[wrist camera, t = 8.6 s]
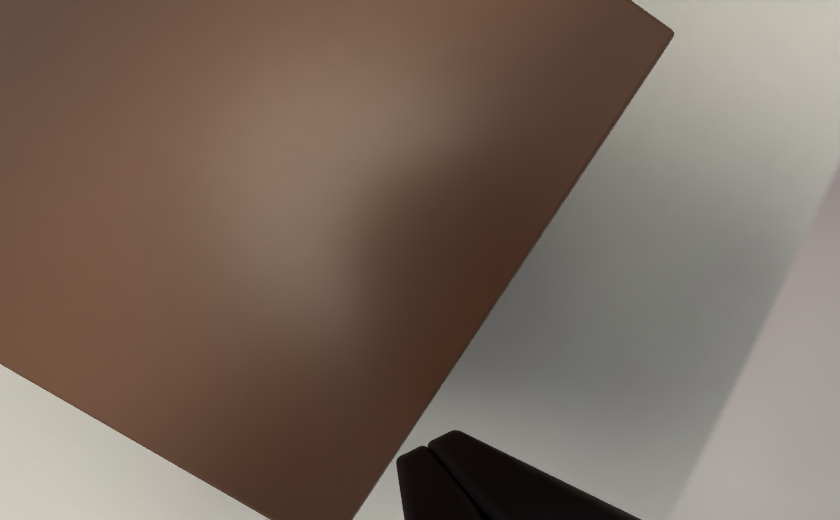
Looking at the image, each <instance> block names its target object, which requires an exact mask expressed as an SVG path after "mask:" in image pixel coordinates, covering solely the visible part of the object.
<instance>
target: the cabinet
mask: <svg viewBox="0 0 840 520" xmlns="http://www.w3.org/2000/svg"><path fill="white" fill-rule="evenodd" d="M673 36H674V32H673V31H672V29H670V28H669V27H667V26H666V25H665V24H663V23H662V22H660V21H659V20H658V19H656V18H655V17H653V16H652V15H651V14H649V13H648V12H647V11H645V10H644V9H642V8H641V7H640V6H638V5H637V4H635V3H634V2H633V1H631V0H0V364H1V365H3V366H5V367H7V368H8V369H10V370H12V371H14V372H15V373H17V374H19V375H21V376H22V377H24V378H26V379H28V380H29V381H31V382H33V383H34V384H36V385H38V386H40V387H41V388H43V389H45V390H47V391H48V392H50V393H52V394H54V395H55V396H57V397H59V398H60V399H62V400H64V401H66V402H67V403H69V404H71V405H73V406H74V407H76V408H78V409H80V410H81V411H83V412H85V413H87V414H88V415H90V416H92V417H93V418H95V419H97V420H99V421H100V422H102V423H104V424H106V425H107V426H109V427H111V428H113V429H114V430H116V431H118V432H119V433H121V434H123V435H125V436H126V437H128V438H130V439H132V440H133V441H135V442H137V443H139V444H140V445H142V446H144V447H146V448H147V449H149V450H151V451H152V452H154V453H156V454H158V455H159V456H161V457H163V458H165V459H166V460H168V461H170V462H172V463H173V464H175V465H177V466H178V467H180V468H182V469H184V470H185V471H187V472H189V473H191V474H192V475H194V476H196V477H198V478H199V479H201V480H203V481H205V482H206V483H208V484H210V485H211V486H213V487H215V488H217V489H218V490H220V491H222V492H224V493H225V494H227V495H229V496H231V497H232V498H234V499H236V500H238V501H239V502H241V503H243V504H244V505H246V506H248V507H250V508H251V509H253V510H255V511H257V512H258V513H260V514H262V515H264V516H265V517H267V518H269V519H270V520H353V518H354V517H355V515H356V514H357V512H358V511H359V509H360V508H361V506H362V505H363V503H364V502H365V500H366V499H367V497H368V496H369V494H370V493H371V491H372V490H373V488H374V487H375V485H376V484H377V482H378V481H379V479H380V477H381V476H382V474H383V473H384V471H385V470H386V468H387V467H388V465H389V464H390V462H391V461H392V459H393V458H394V456H395V455H396V453H397V452H398V450H399V449H400V447H401V446H402V444H403V443H404V441H405V440H406V438H407V437H408V435H409V434H410V432H411V431H412V429H413V428H414V426H415V425H416V423H417V422H418V420H419V419H420V417H421V416H422V414H423V413H424V411H425V410H426V408H427V407H428V405H429V404H430V402H431V401H432V399H433V398H434V396H435V395H436V393H437V392H438V390H439V389H440V387H441V386H442V384H443V383H444V381H445V380H446V378H447V377H448V375H449V374H450V372H451V371H452V369H453V368H454V366H455V365H456V363H457V362H458V360H459V359H460V357H461V356H462V354H463V353H464V351H465V350H466V348H467V347H468V345H469V344H470V342H471V341H472V339H473V338H474V336H475V335H476V333H477V332H478V330H479V329H480V327H481V326H482V324H483V323H484V321H485V320H486V318H487V317H488V315H489V314H490V312H491V311H492V309H493V308H494V306H495V305H496V303H497V302H498V300H499V299H500V297H501V296H502V294H503V293H504V291H505V290H506V288H507V287H508V285H509V284H510V282H511V281H512V279H513V278H514V276H515V275H516V273H517V271H518V270H519V268H520V267H521V265H522V264H523V262H524V261H525V259H526V258H527V256H528V255H529V253H530V252H531V250H532V249H533V247H534V246H535V244H536V243H537V241H538V240H539V238H540V237H541V235H542V234H543V232H544V231H545V229H546V228H547V226H548V225H549V223H550V222H551V220H552V219H553V217H554V216H555V214H556V213H557V211H558V210H559V208H560V207H561V205H562V204H563V202H564V201H565V199H566V198H567V196H568V195H569V193H570V192H571V190H572V189H573V187H574V186H575V184H576V183H577V181H578V180H579V178H580V177H581V175H582V174H583V172H584V171H585V169H586V168H587V166H588V165H589V163H590V162H591V160H592V159H593V157H594V156H595V154H596V153H597V151H598V150H599V148H600V147H601V145H602V144H603V142H604V141H605V139H606V138H607V136H608V135H609V133H610V132H611V130H612V129H613V127H614V126H615V124H616V123H617V121H618V120H619V118H620V117H621V115H622V114H623V112H624V111H625V109H626V108H627V106H628V105H629V103H630V102H631V100H632V99H633V97H634V96H635V94H636V93H637V91H638V90H639V88H640V87H641V85H642V84H643V82H644V81H645V79H646V78H647V76H648V75H649V73H650V72H651V70H652V69H653V67H654V65H655V64H656V62H657V61H658V59H659V58H660V56H661V55H662V53H663V52H664V50H665V49H666V47H667V46H668V44H669V43H670V41H671V40H672V38H673Z"/></svg>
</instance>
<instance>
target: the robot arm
mask: <svg viewBox="0 0 840 520" xmlns="http://www.w3.org/2000/svg"><path fill="white" fill-rule="evenodd" d="M396 464H397V472H398V478H399V485H400V492H401V498H402V505H403V512H404V518H405V520H641V519H639V518H637V517H635V516H633V515H631V514H629V513H627V512H625V511H623V510H621V509H619V508H616V507H614V506H612V505H610V504H608V503H606V502H604V501H602V500H600V499H598V498H596V497H594V496H592V495H590V494H588V493H586V492H584V491H582V490H580V489H578V488H576V487H574V486H572V485H569V484H567V483H565V482H563V481H561V480H559V479H557V478H555V477H553V476H551V475H549V474H547V473H545V472H543V471H541V470H539V469H537V468H535V467H533V466H531V465H529V464H527V463H525V462H522V461H520V460H518V459H516V458H514V457H512V456H510V455H508V454H506V453H504V452H502V451H500V450H498V449H496V448H494V447H492V446H490V445H488V444H486V443H484V442H482V441H480V440H477V439H475V438H473V437H471V436H469V435H467V434H465V433H463V432H461V431H458V430H453V431H450V432H448V433H446V434H444V435H442V436H440V437H438V438H436V439H434V440H432V441H430V442H429V444H428V448H427V447H426V446H420V447H418V448H416V449H414V450H412V451H410V452H408V453H406V454H403V455H401V456H400V457H398V459H397V461H396Z"/></svg>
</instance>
